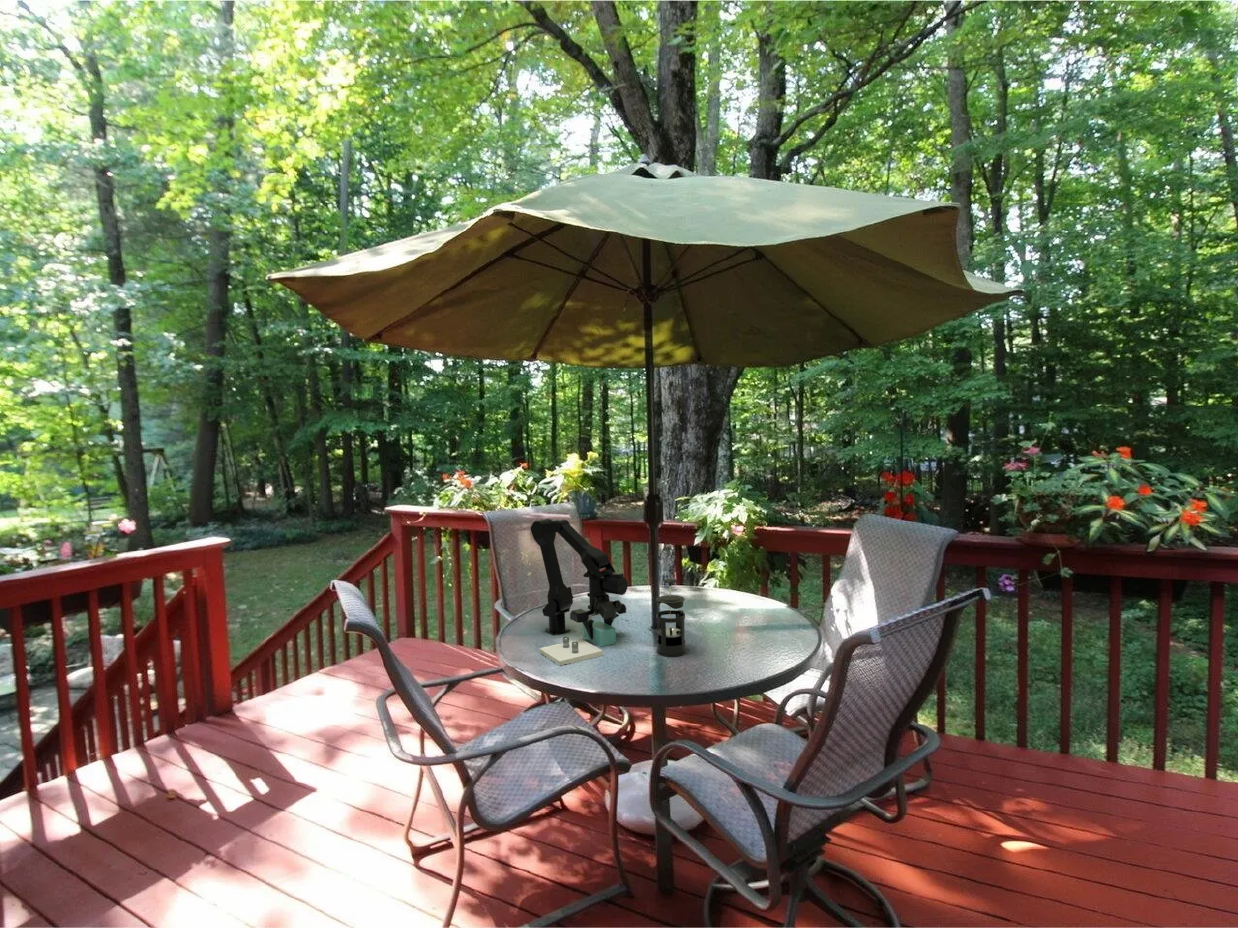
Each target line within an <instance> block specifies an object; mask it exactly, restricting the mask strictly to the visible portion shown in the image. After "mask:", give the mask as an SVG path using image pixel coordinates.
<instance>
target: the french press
mask: <svg viewBox="0 0 1238 928" xmlns="http://www.w3.org/2000/svg"><path fill="white" fill-rule="evenodd" d="M662 581H663V582H664V583H668V587H669V595H667V594H666V595H665V594H664V595H660V596H656V598H655V601H656V602H657V603H656V604H657V607H659V606H660V605H661V604H664V605H667V606H668V607H669V609H668V610H667V609H666V610H661V611H658V612H657V613H656V615H655V617H656V621H657V640H656V654H657V655H658V656H661V657H666V658H677V657H681V656H684V655H686V653H687V651H688V649H687V648H686V647H687V645H686V643H687V642H686V637H685V636H686V635H685V632H686V631H685V620H686V613H685V611H684V610H681V608H683V607H684V602H685V597H684V596H681V595H674V594H672V588H671V587H672V583H676V582H677V579H675V578H664V579H663V580H662ZM664 615H665V616H666V615H669V618H666V617H662V616H664ZM672 615H675V617H673V618H672ZM668 623H669V625H670V627H667V624H668ZM672 623H673V624H674V623H675V627H672Z"/></svg>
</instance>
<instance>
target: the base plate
mask: <svg viewBox="0 0 1238 928" xmlns="http://www.w3.org/2000/svg"><path fill="white" fill-rule="evenodd" d="M572 642H578V650H579V652H578V653H572ZM540 653H542V654H543V655H545V656H546V657H548V658H549V659H548V658H547V659H548V660H550V659H551V660H552V661H551V660H550V661H551V662H553V661H554V662H555V663H554V662H553V663H554V664H556V663H557V664H558V665H557V664H556V665H557V666H559V665H563V666H565V665H564V664H567V665H570V664H569V663H571V664H574V663H578V661H579V662H583V661H587V660H591V659H594V658H595V659H596V658H597V657H603V656H604V651H603V650H602V649H600V648H599V647H596V646H595V645H593V644H591V643H590V642H587V641H586V640H584V639H582V638H577V639H575V640H569V648H563V642H561V643H558V644H557V643H556V644H552V645H548V646H544V647H543V646H542V647H540V648H539V654H540ZM542 654H541V655H542ZM543 655H542V656H543ZM545 656H544V657H545ZM546 657H545V658H546Z"/></svg>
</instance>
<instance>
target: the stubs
mask: <svg viewBox="0 0 1238 928" xmlns="http://www.w3.org/2000/svg"><path fill="white" fill-rule="evenodd" d="M569 641H570V637H569V636H563V637H562V643H563V648H569ZM578 652H579V650H578V642H572V653H578Z"/></svg>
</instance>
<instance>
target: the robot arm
mask: <svg viewBox="0 0 1238 928" xmlns="http://www.w3.org/2000/svg"><path fill="white" fill-rule="evenodd" d="M530 532H531V535H532V538H533V540H534V542H536V544H537V545H538V546H539V549H540V552H541V555H542V562H543V564H544V569H545V573H546V577H547V581H548V587H549V588H548V593H547V604H546V605H545V606H544V607H543V608H542V610H541V612H542V614H543V616H544V617H548V628H545V629H544V630H545V632H547V633H549V634H550V635H553V636H555V635H558V634H564V633H568V632H570V629H569V628H567V627H566V613H569V612H570V611H571V612H570V613H569V618H570V620H571V621H574V622H576V623H581V624H582V625H583V624H584V626H585V628H586V630H587V632H588V635H589V637H590V639H593V622H594V621H593V620H594V619H592V617H593V616H599V615H600V616H601V618H602V619H603V623H606V624H608V625H610V626H612V625H613V622H614V620H615V619H616V618H618V617H619V616H620V615H622V614H626V613H627V607H626V605H625V604H624V603H623V602H621V601H620V600H619V599H617V600H614V601H613V600H610V596H609V594H612V595H617V596H618V595H619V596H623V595H625V594H626V592H627V590H628V587H629V585H628V584H629V582H628V581H627V579H626V577H625V576H624V575H625V574H624V573H621V572H619V573H617V572H616V569H615V568H614V566H613V565H612V563H611V562H610V560H609V557H608V555H607V554H606V553H605V552H604V551H602V550H601V549H600V548H597V547H594V546H592V545H591V544H590V543H589V542H588V541H587V540H586V539H585V538H584V537H583V536H582V535H581V534H580V533H579V532H578V531H577V530H576V529H575V527H573V526H572V525H571V524H570V521H569V520H567V519H561V520H560V519H559V520H552V519H550V518H543V519H538V520H535V521H533V522H532V524H531V525H530ZM557 534H559V536H560V537H561V538H562V539H563V540H564V541H565V542H566V543H567V544H568V545H569V546H570V547H571V548H572V549H573V550H574V551H575V552H576V553H577V554H578V556H579V557H580V560H581V563H582V565H583V566H584V567H585V569H586V572H585V573H584V574H582V575H583V577H584V578H588V593H587V594H586V595H587V597H588V598H589V605H587V609H588V610H584V609H583V608H578V609H573V610H571V607H572V605H573V603H574V600H573V599H574V596H573V592H572V591H573V590H572V588H571V587H570V586H568V587H567V586H566V585H565V583H564V580H563V579H564V578H563V576H562V571H561V568H560V564H559V558H558V555H557V551H556V546H555V540H556V535H557Z"/></svg>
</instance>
